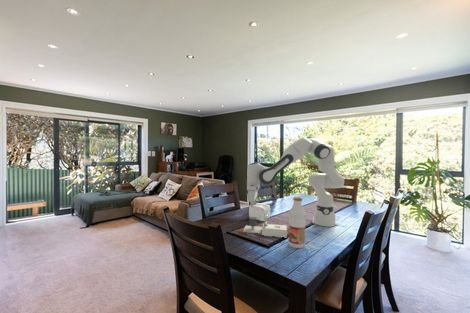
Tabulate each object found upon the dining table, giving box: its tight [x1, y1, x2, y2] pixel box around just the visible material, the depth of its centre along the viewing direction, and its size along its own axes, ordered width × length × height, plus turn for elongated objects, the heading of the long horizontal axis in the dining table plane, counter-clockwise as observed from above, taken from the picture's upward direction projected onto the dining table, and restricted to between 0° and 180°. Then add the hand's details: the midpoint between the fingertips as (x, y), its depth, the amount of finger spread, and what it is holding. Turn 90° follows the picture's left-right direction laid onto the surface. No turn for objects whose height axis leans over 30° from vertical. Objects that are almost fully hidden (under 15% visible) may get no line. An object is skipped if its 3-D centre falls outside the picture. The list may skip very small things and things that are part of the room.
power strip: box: [261, 223, 288, 239], centre depth 149 cm, size 9×16×6 cm, turn 78°
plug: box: [248, 217, 262, 230], centre depth 155 cm, size 5×8×8 cm, turn 78°
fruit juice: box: [287, 196, 306, 249], centre depth 131 cm, size 9×9×28 cm
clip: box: [263, 211, 268, 226], centre depth 154 cm, size 2×11×7 cm, turn 170°
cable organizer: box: [248, 202, 271, 222], centre depth 182 cm, size 15×11×12 cm
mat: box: [242, 224, 262, 235], centre depth 156 cm, size 12×12×1 cm
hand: (253, 205), depth 156 cm, fingers open, 8 cm apart
